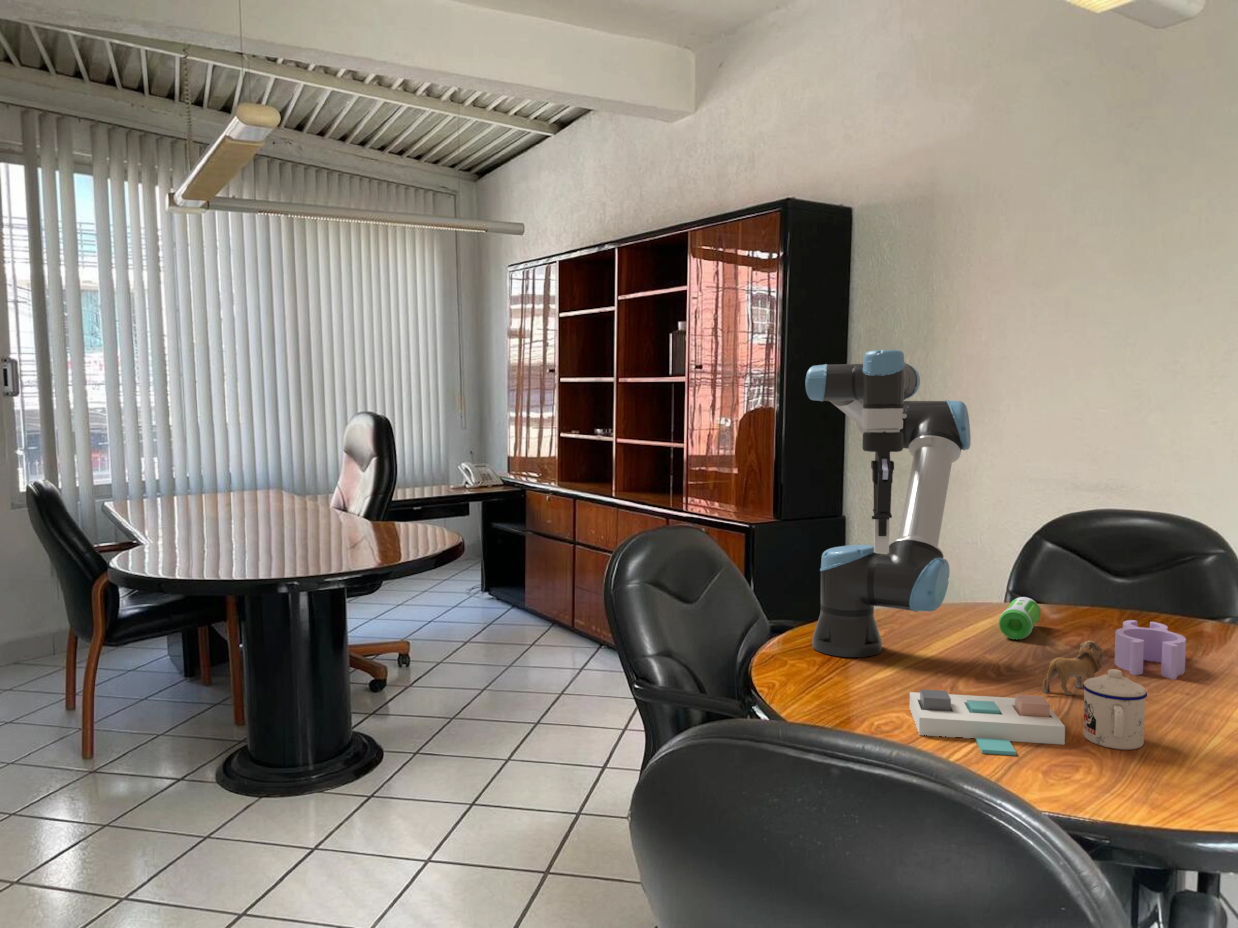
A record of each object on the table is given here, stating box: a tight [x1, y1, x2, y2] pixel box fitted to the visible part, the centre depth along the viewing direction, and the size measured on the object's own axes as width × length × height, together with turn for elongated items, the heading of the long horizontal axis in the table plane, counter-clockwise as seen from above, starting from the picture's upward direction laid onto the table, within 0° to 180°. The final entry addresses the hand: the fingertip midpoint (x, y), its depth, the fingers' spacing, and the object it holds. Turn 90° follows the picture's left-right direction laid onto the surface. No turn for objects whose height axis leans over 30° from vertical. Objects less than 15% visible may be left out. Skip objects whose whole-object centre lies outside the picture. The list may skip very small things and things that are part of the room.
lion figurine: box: [1041, 640, 1103, 696], centre depth 166 cm, size 15×5×9 cm, turn 117°
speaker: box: [998, 596, 1041, 640], centre depth 207 cm, size 18×7×8 cm, turn 147°
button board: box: [909, 691, 1066, 746], centre depth 149 cm, size 13×22×3 cm, turn 78°
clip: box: [1114, 619, 1187, 680], centre depth 182 cm, size 20×12×7 cm, turn 154°
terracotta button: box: [1014, 694, 1051, 717], centre depth 147 cm, size 4×4×3 cm
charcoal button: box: [919, 688, 951, 712], centre depth 150 cm, size 4×4×3 cm
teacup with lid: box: [1082, 668, 1148, 751], centre depth 140 cm, size 12×9×12 cm
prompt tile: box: [975, 738, 1017, 757], centre depth 139 cm, size 5×5×1 cm
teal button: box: [967, 700, 1000, 714], centre depth 149 cm, size 4×4×3 cm
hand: (881, 551), depth 169 cm, fingers closed
